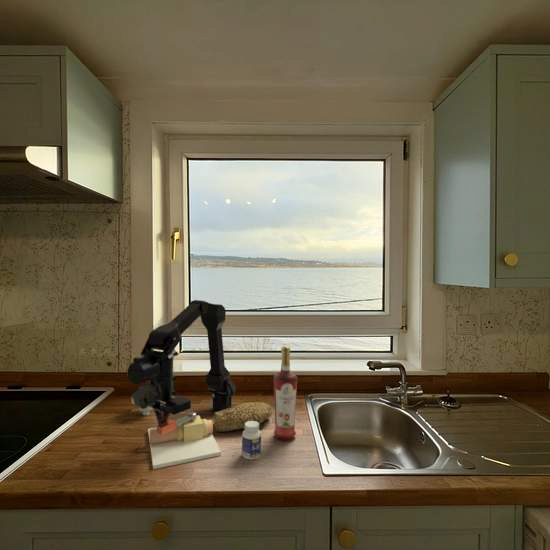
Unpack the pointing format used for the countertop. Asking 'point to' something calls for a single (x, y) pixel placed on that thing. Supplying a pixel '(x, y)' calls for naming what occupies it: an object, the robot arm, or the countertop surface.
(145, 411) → the showerhead
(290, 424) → the liquor
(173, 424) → the valve lever
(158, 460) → the valve board
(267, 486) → the countertop surface
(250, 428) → the pill bottle
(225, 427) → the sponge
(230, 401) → the robot arm
